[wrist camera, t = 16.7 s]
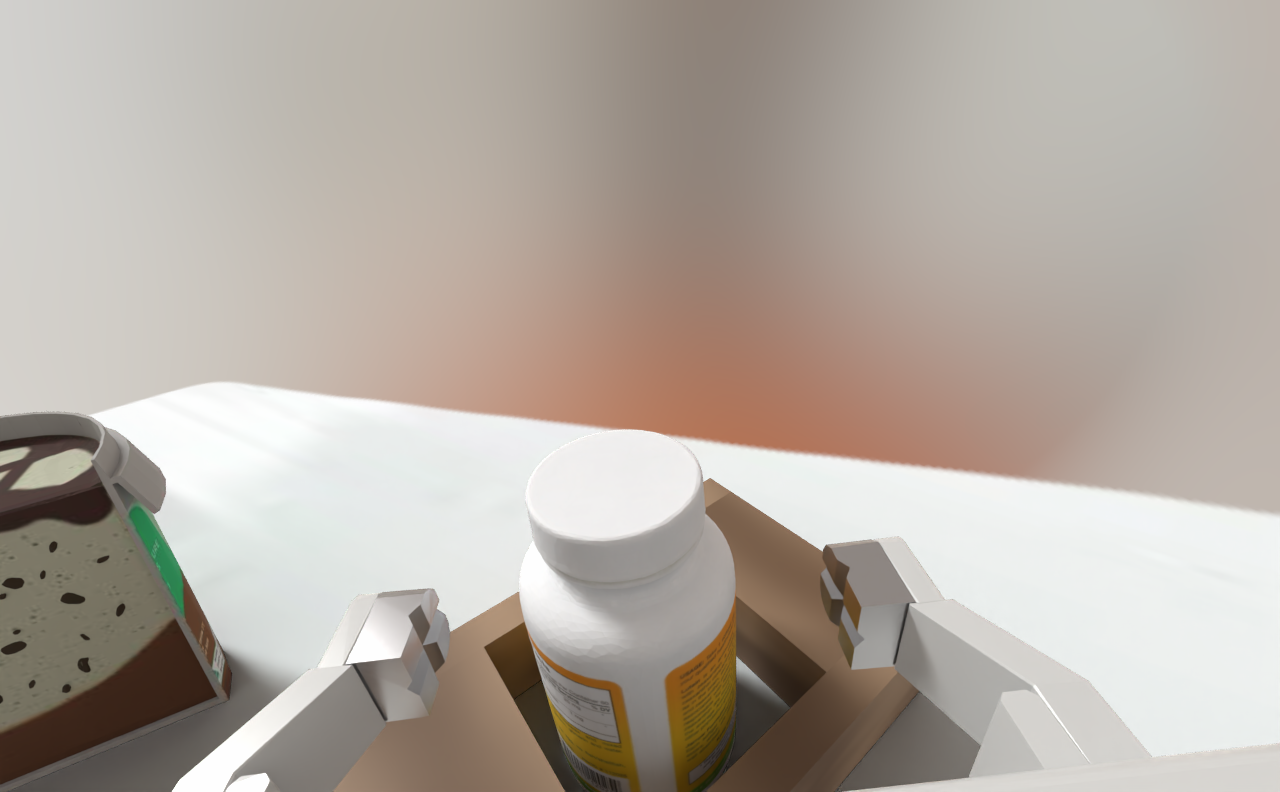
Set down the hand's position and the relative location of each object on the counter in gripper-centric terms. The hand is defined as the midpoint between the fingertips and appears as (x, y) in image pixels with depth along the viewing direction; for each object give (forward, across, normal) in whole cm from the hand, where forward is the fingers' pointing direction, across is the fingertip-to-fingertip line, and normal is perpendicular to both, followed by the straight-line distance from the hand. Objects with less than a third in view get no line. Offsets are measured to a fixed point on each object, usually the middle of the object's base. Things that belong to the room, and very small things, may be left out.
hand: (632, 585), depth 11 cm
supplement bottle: (+2, 0, +8) cm, 8 cm away
